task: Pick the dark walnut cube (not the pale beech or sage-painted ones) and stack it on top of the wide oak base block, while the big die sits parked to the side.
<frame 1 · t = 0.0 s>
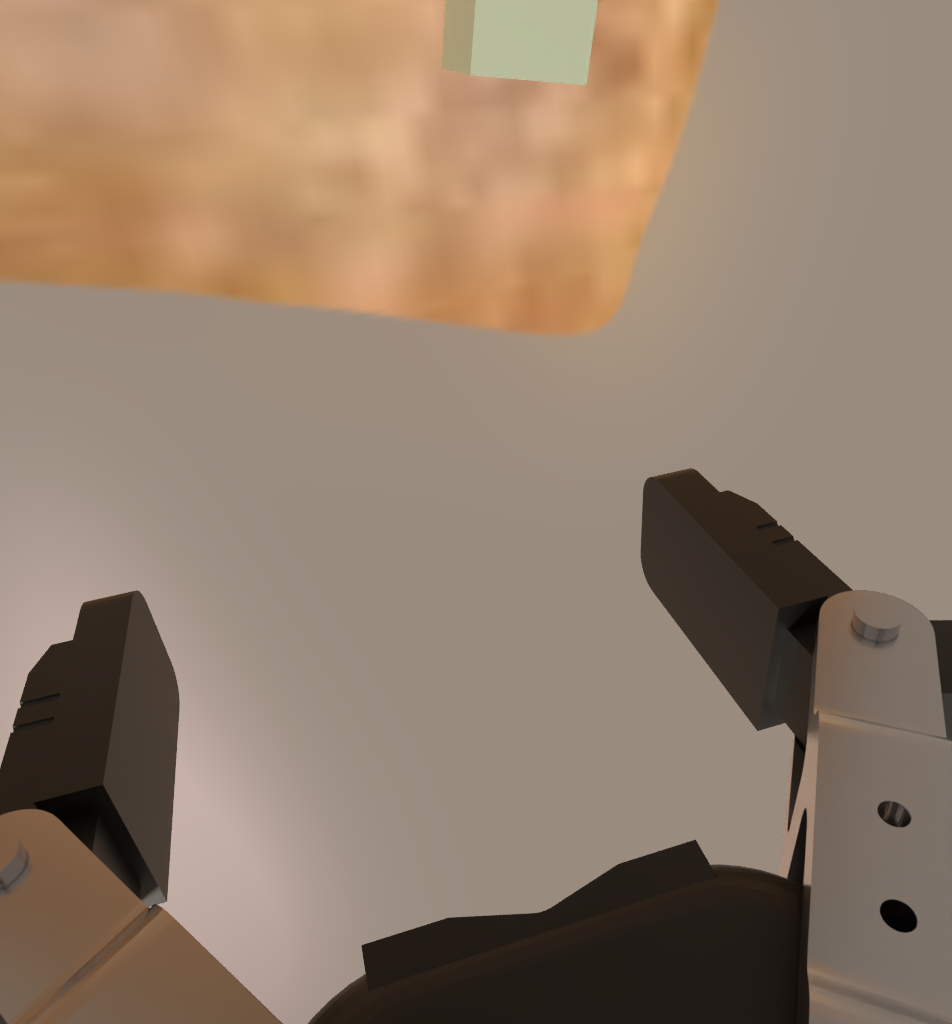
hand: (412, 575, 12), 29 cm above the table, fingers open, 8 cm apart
sage block: (500, 8, 34), on the table
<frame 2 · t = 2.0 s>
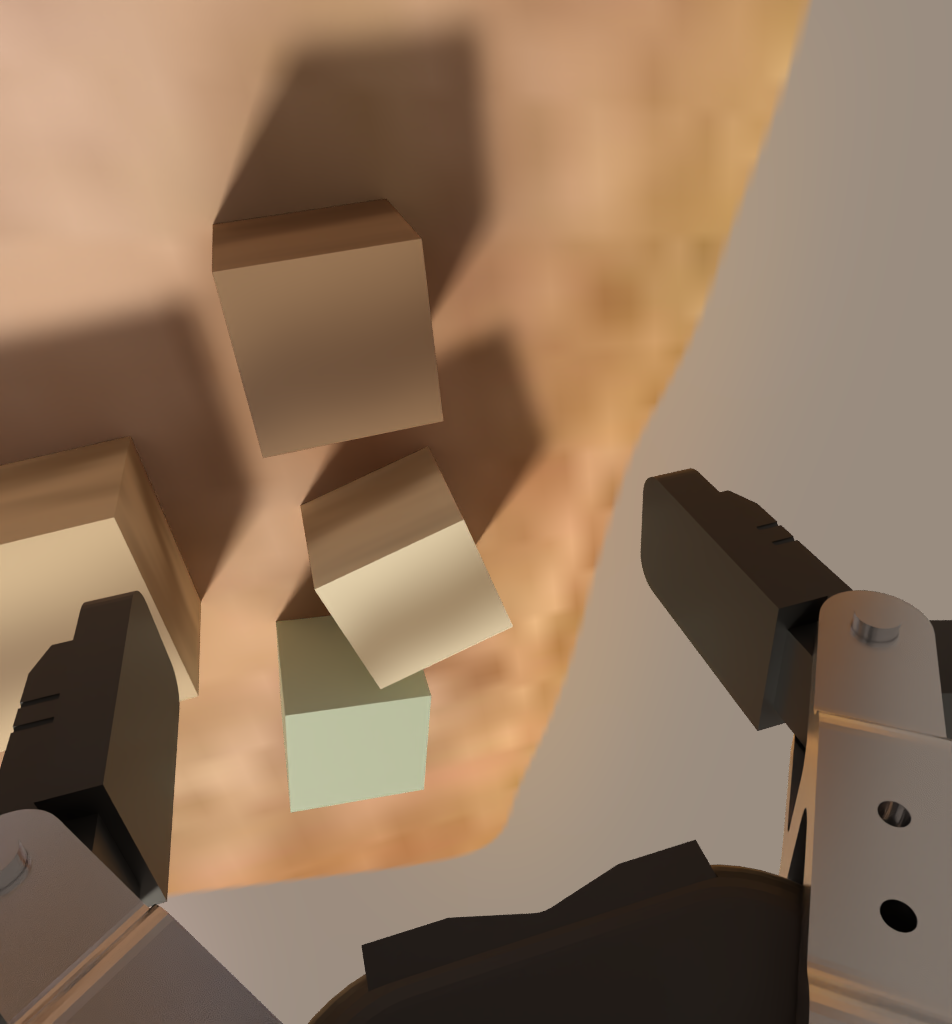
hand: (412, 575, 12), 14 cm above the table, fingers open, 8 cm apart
walnut block: (317, 295, 24), on the table
oak base: (62, 548, 26), on the table
beech block: (391, 525, 29), on the table
sage block: (341, 660, 32), on the table
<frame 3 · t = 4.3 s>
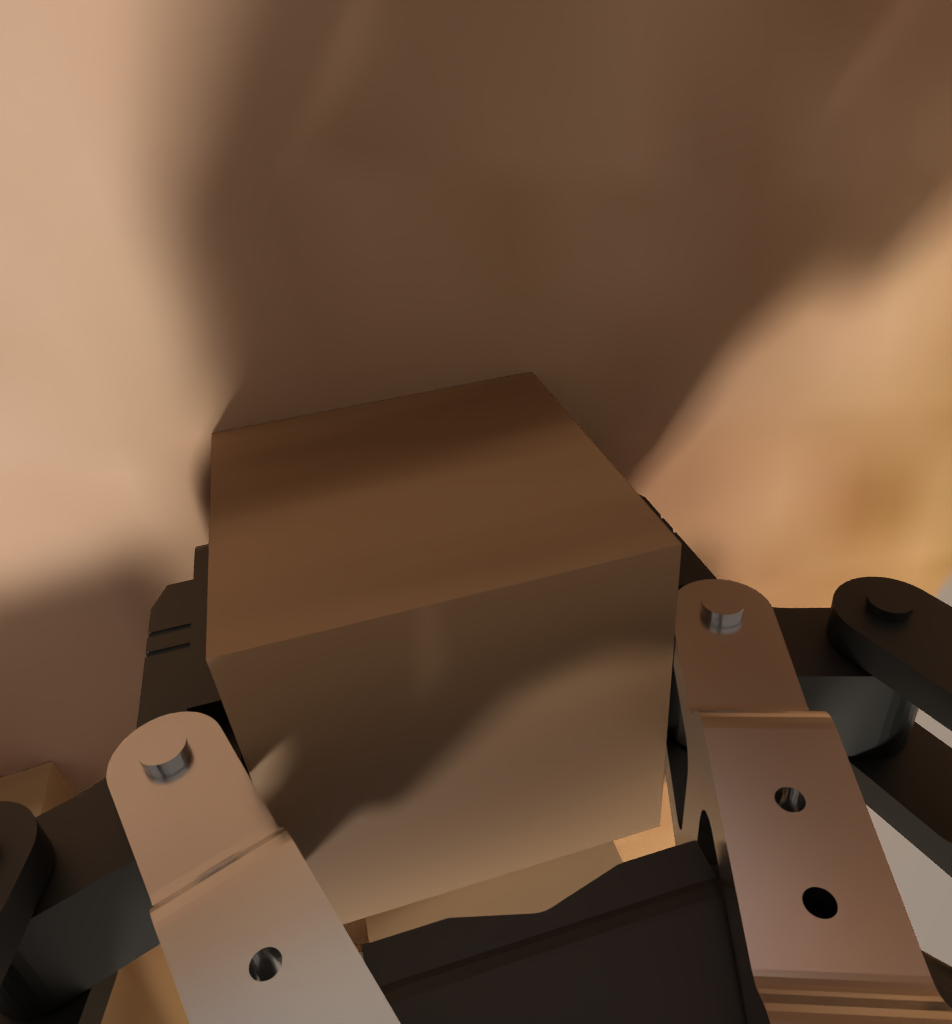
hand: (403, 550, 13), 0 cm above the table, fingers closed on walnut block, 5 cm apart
walnut block: (399, 533, 13), on the table, touching gripper
beech block: (489, 827, 19), on the table
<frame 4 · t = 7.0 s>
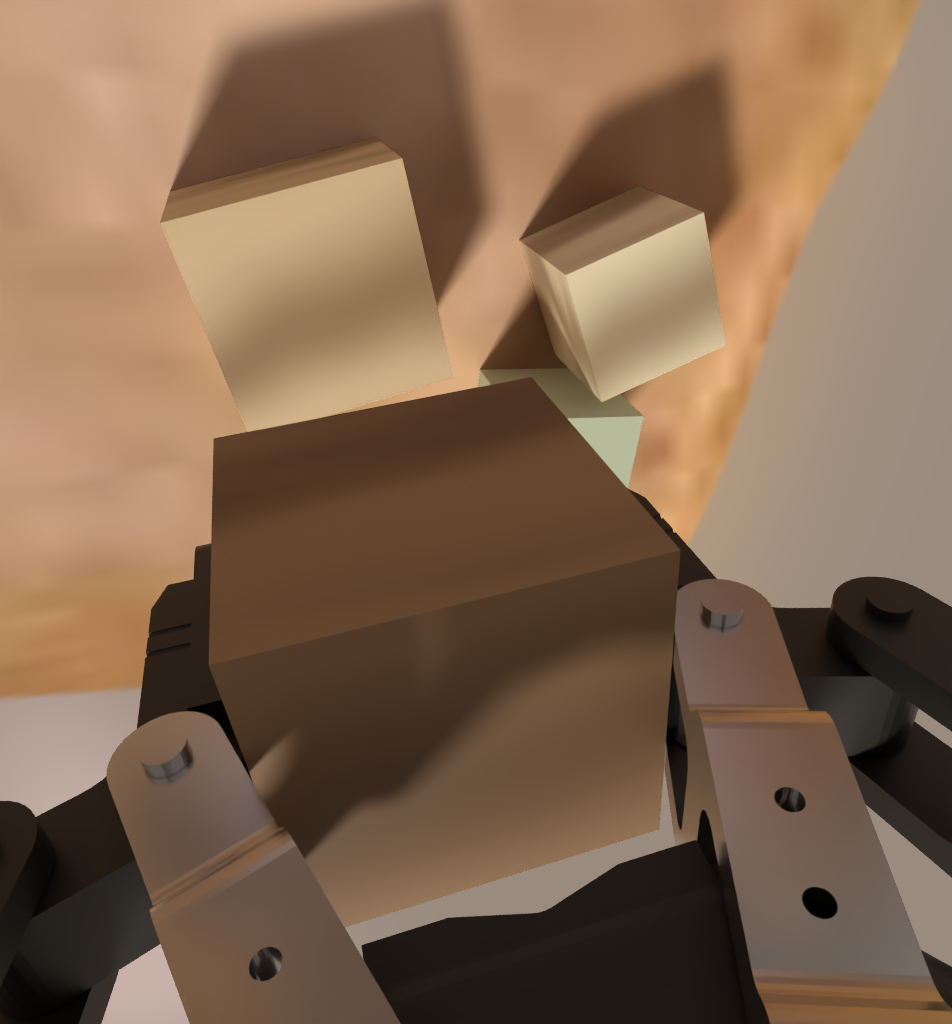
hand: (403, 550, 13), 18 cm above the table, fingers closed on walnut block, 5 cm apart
walnut block: (400, 537, 13), point 18 cm above the table, touching gripper
oak base: (307, 266, 28), on the table
beech block: (594, 273, 31), on the table
sage block: (529, 422, 34), on the table
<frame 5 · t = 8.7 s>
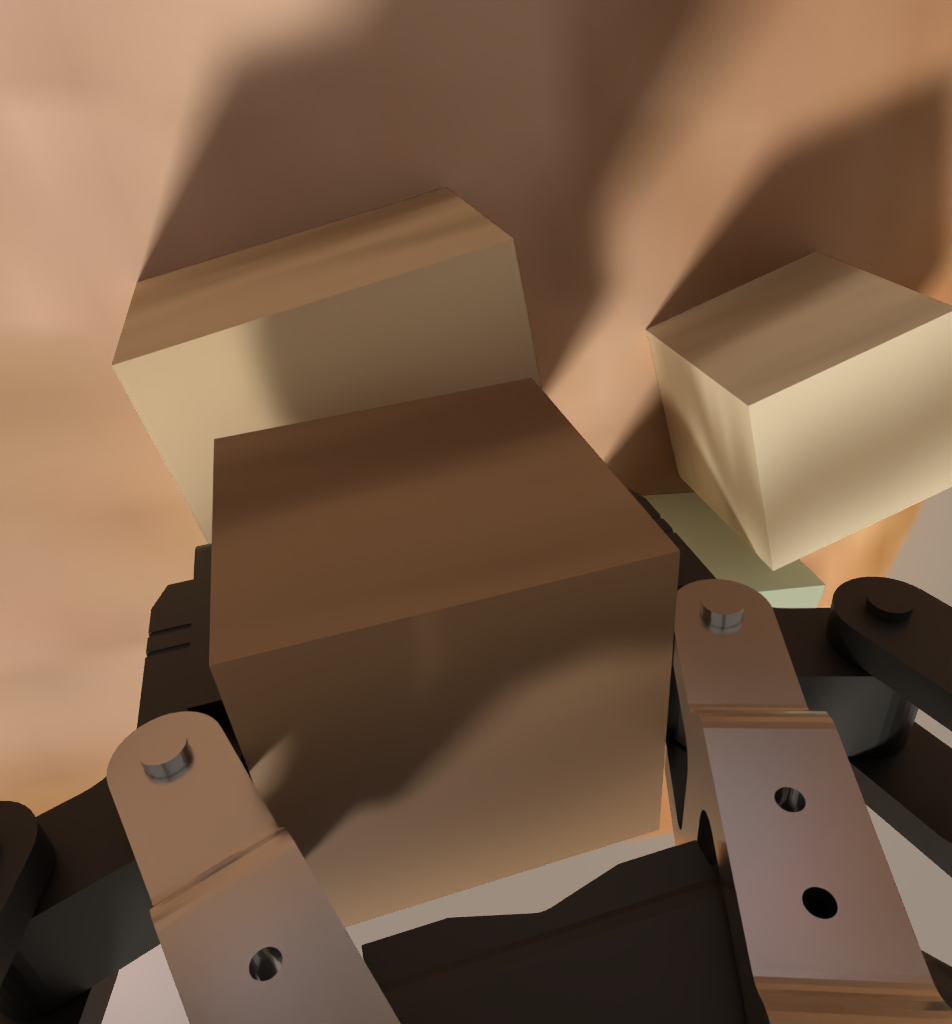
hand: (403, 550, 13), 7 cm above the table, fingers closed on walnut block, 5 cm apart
walnut block: (400, 538, 13), point 7 cm above the table, touching gripper
oak base: (344, 374, 19), on the table
beech block: (741, 369, 22), on the table
sage block: (636, 561, 25), on the table
when the fingers open (6 cm above the table, at t = 10.1 s): walnut block drops 1 cm, resting on oak base.
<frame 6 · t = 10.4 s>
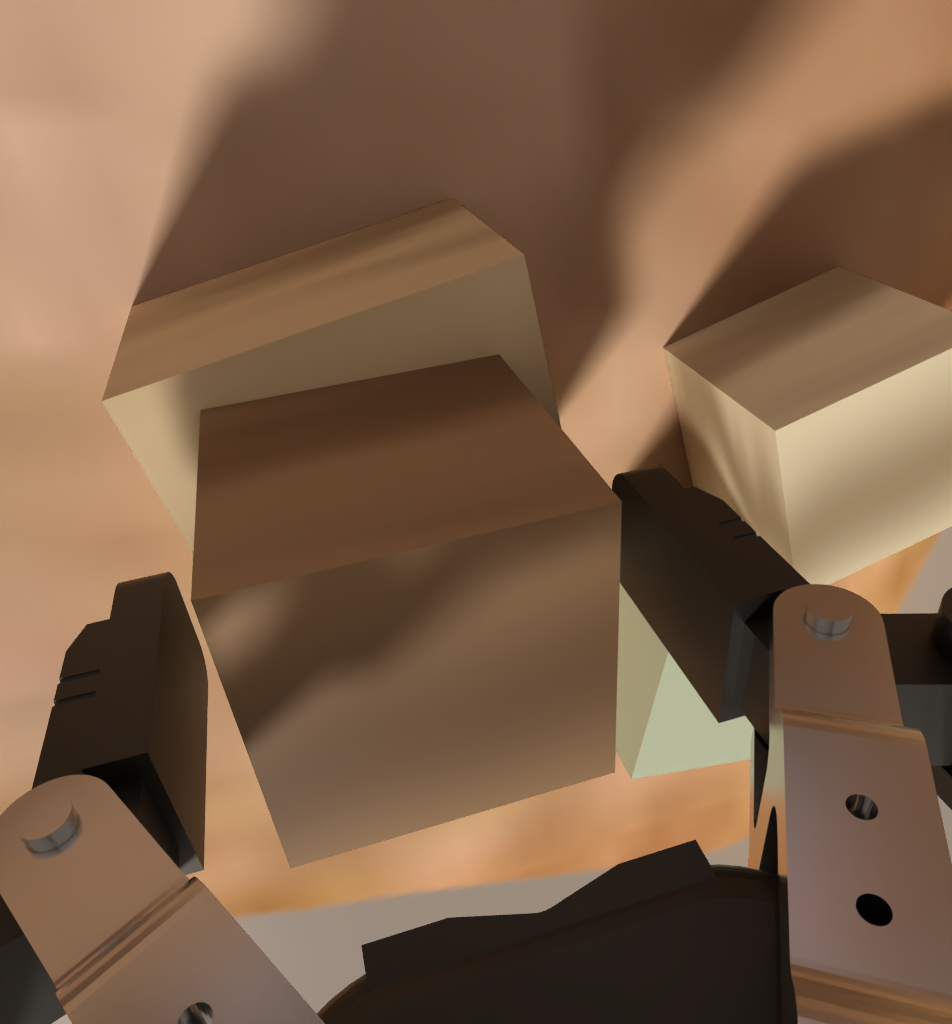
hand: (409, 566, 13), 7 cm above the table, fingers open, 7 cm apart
walnut block: (377, 506, 14), point 5 cm above the table, touching oak base
oak base: (350, 394, 18), on the table, touching walnut block
beech block: (761, 387, 21), on the table
sage block: (651, 583, 24), on the table
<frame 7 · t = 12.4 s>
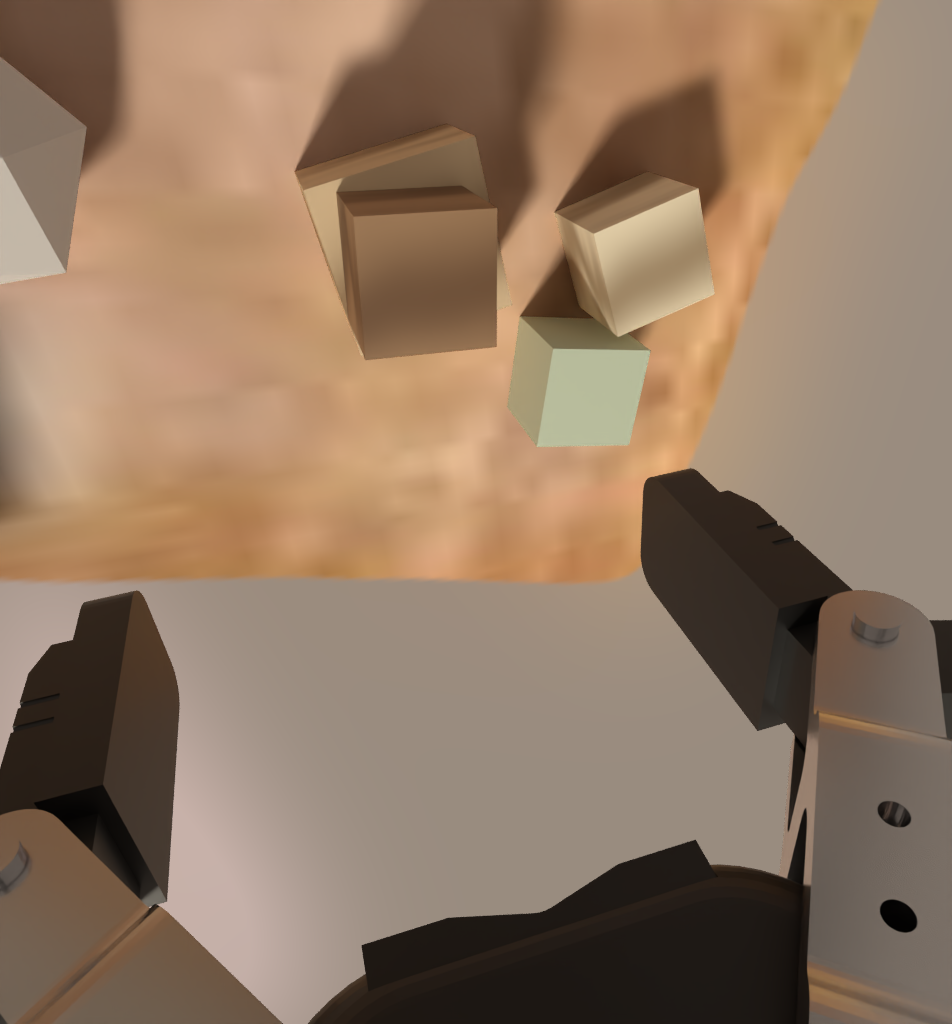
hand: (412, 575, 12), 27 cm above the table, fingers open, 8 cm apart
walnut block: (403, 253, 32), point 5 cm above the table, touching oak base
oak base: (393, 226, 36), on the table, touching walnut block
beech block: (611, 240, 39), on the table
sage block: (556, 363, 42), on the table
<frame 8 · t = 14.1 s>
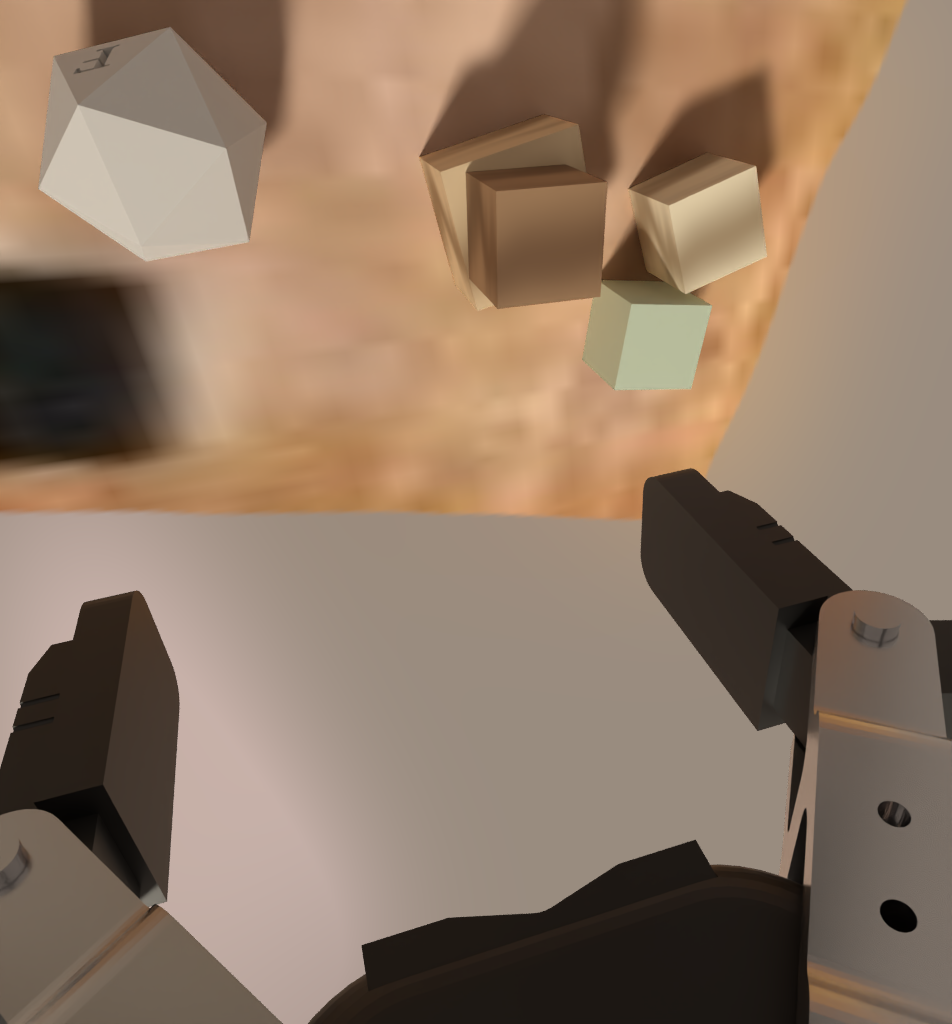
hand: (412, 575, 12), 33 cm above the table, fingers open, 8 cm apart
walnut block: (516, 222, 38), point 5 cm above the table, touching oak base
oak base: (496, 202, 43), on the table, touching walnut block
beech block: (675, 213, 46), on the table
sage block: (625, 320, 48), on the table
die: (163, 142, 37), on the table
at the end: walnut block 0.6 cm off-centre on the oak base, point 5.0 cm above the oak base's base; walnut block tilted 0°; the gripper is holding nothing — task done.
